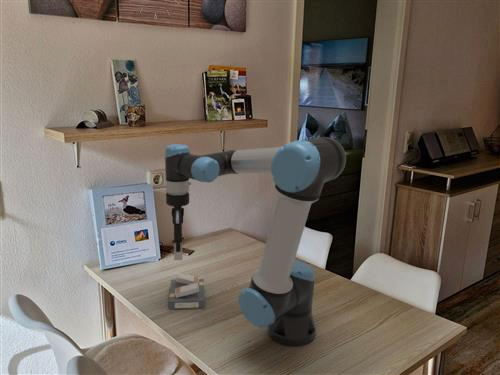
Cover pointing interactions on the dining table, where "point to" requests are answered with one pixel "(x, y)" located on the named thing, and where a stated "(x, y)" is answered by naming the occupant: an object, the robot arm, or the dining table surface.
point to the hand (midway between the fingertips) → (178, 259)
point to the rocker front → (186, 290)
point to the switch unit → (187, 297)
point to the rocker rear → (186, 278)
